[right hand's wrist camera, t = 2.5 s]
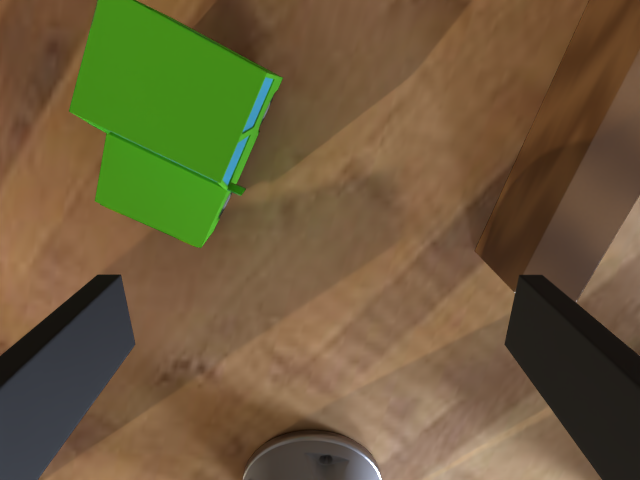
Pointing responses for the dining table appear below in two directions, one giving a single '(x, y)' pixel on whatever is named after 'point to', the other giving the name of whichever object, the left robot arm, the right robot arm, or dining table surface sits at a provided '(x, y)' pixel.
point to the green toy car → (168, 117)
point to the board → (575, 159)
